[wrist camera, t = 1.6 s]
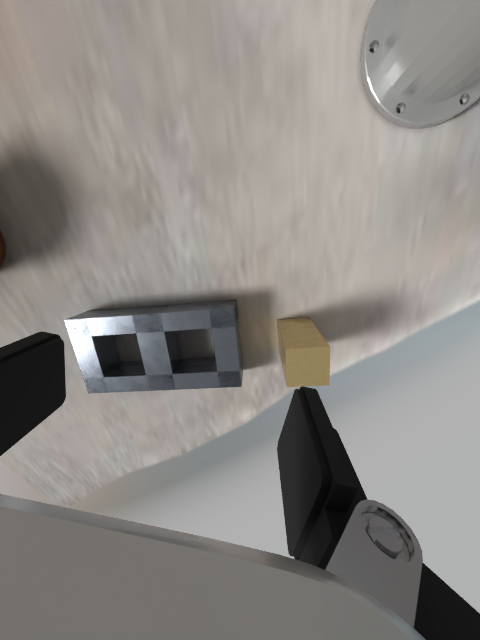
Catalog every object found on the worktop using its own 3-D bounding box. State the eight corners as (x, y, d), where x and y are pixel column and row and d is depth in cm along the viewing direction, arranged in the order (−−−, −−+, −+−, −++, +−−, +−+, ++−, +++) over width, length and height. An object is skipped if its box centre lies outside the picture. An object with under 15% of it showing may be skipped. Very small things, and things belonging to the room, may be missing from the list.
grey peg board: (236, 299, 30) (233, 307, 26) (243, 370, 33) (241, 386, 29) (87, 311, 32) (64, 320, 28) (106, 376, 35) (88, 393, 31)
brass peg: (308, 317, 30) (330, 346, 21) (309, 346, 31) (329, 385, 23) (277, 319, 30) (285, 349, 22) (278, 348, 32) (286, 386, 23)
